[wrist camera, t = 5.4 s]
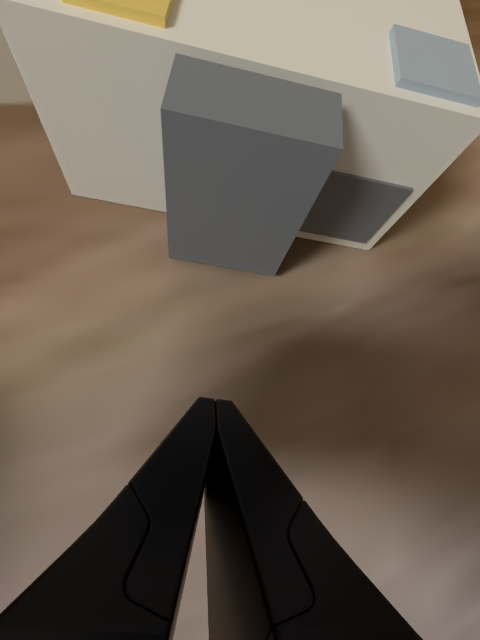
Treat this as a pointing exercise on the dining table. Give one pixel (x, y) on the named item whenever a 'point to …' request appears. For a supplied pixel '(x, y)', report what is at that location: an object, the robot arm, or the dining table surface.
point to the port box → (264, 58)
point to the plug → (242, 162)
